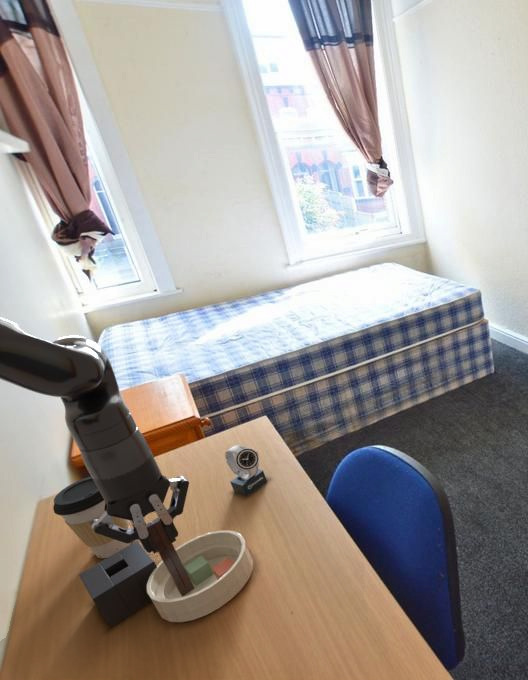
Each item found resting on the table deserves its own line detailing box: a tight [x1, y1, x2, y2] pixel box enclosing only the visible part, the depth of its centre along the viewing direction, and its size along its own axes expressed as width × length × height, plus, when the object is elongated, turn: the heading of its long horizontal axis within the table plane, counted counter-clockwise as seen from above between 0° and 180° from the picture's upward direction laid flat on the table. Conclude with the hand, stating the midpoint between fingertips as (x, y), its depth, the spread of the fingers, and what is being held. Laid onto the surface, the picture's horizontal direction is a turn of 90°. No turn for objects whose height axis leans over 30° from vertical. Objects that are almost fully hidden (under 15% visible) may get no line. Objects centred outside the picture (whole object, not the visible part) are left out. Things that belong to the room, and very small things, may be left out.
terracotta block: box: [212, 558, 234, 580], centre depth 85 cm, size 3×3×3 cm
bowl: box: [147, 529, 254, 623], centre depth 84 cm, size 15×15×6 cm
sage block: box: [184, 556, 213, 586], centre depth 86 cm, size 3×3×3 cm
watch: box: [224, 444, 268, 497], centre depth 108 cm, size 6×8×11 cm
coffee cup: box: [52, 475, 133, 559], centre depth 94 cm, size 10×10×15 cm
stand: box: [78, 540, 157, 628], centre depth 83 cm, size 9×9×7 cm
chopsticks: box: [146, 517, 195, 597], centre depth 80 cm, size 2×1×16 cm, turn 143°
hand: (163, 544), depth 79 cm, fingers closed on chopsticks
